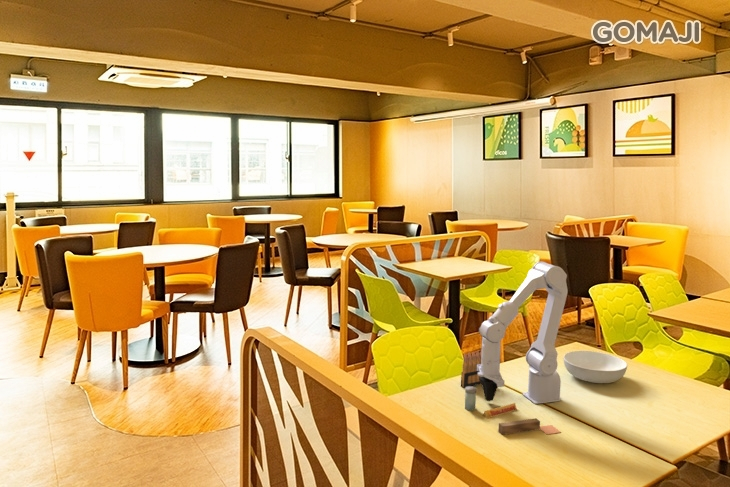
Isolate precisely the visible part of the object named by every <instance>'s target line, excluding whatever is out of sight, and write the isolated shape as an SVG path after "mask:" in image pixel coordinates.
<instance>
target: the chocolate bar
mask: <svg viewBox="0 0 730 487" xmlns="http://www.w3.org/2000/svg"><path fill="white" fill-rule="evenodd" d="M517 410H518V409H517V405H516V403H515V402H514V403H510V404H507V405H503V406H498V407H495V408H492V409H488V410H484V411H483V414H482V416H483V417H484V418H486V419H489V418H492V417H496V416H499V415H500V416H501V415H503V414H504V415H505V414H507V413H510V412H514V411H517Z"/></svg>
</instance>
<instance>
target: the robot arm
mask: <svg viewBox="0 0 730 487" xmlns="http://www.w3.org/2000/svg"><path fill="white" fill-rule="evenodd" d="M567 278H568V274H567V273H566V272H565V271H564V269H563V268H562V267H560V266H558V265H553V264H550V263H547V262H546V261H542V260H541V261H538V262H536V263H535V264H534V265H533V266H532V268H531V269H529V270H528V272H527V276H526V278H525V279H524V281H523V282H521V284H520V286H519V287H518V288H517V290H516V291H515V292H514V294H513V295H512V297H511V298H510V300H508V301H503V302H502V303H499V304H498V305H497V307H498V308H497V309H496V310H495V311H494V313H493V314H492V315H491V316H489V317H488V319H487V320H484V321H483V322H481V325H480V327H479V328H478V332H479V334H480V336H481V350H482V354H481V364H479V365H477V371H479V372H478V375H479V376H480V377H479V380H480V382H481V384H480V385H481V387H482V390H483V395H484V396H483V397H484V399H485V401H487V402H492V401H494V398H495V394H496V392H497V390H498V388H503V387H505V380H504V378H503V376H502V374H501V372H500V371H501V370H500V369H501V368H500V367H501V346H502V345H501V342H502V341H501V340H503V339H504V338H505V335H506V330H507V328H508V326H509V325H511V323H512V322H513V320H515V319H516V317H518V315H519V308H520V307H521V306H522V305H523V304H524V302H526V300H527V299H528V298H530V296H531V295H532V294H533V293H534V292H535V291H537V290H541V289H542V290H543V289H545V290H546V292H547V293H548V294H547V298H546V301H545V307H544V310H543V313H542V314H543V315H542V318H541V322H540V325H539V326H540V327H539V330H538V334H537V338H536V340H535V341H533V342H532V343H531V345H530V348H529V350H528V351H527V352H526V354H525V361H526V363H527V364H528V386H527V387H528V388H527V390H528V391H526V392H522V396H524V397H525V398H526V399H528V400H529V401H530V402H532V403H533V404H535V405H537V404H538V405H539V404H545V403H553V402H554V403H555V402H560V401H562V398H561V385H562V382H561V376H560V374H559V372H558V371H557V370H558V365H559V364H558V355H559V354H558V351H557V348H556V346H555V344H556V340H557V336H558V332H559V328H560V324H561V321H562V320H561V319H562V316H563V313H564V308H565V304H566V301H567V296H568V292H569V291H568V286H567V285H568V284H567ZM482 376H483V377H482Z"/></svg>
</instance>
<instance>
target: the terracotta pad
mask: <svg viewBox="0 0 730 487" xmlns="http://www.w3.org/2000/svg"><path fill="white" fill-rule="evenodd" d="M540 430H541V432H543V433H545V434H546V435H548V436H549V435H554V434H561V433H562V432H561V430H559V429H558V428H557V427H555V426H554V425H552V424H549V425H540Z"/></svg>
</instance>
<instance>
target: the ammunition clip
mask: <svg viewBox="0 0 730 487" xmlns="http://www.w3.org/2000/svg"><path fill="white" fill-rule="evenodd" d="M481 354H482V349H481V350H480V351H479V350H477V351H476V352H475V351H472V354H471V352H470V351H468V354H467V353H466V352H465V353H464V354H463V362H462V363H463V364H462V371H461V374H460V375H461V376H460V377H461V378H460V379H461V380H460V387H461V388H463V389H465V388H466V387H468V386H472V387H476V386H480V385H482V384H481V382H480V380H479V377H480V376H479V375H478V372H479V371H477V365H479V364H481ZM482 377H483V376H482Z"/></svg>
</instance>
